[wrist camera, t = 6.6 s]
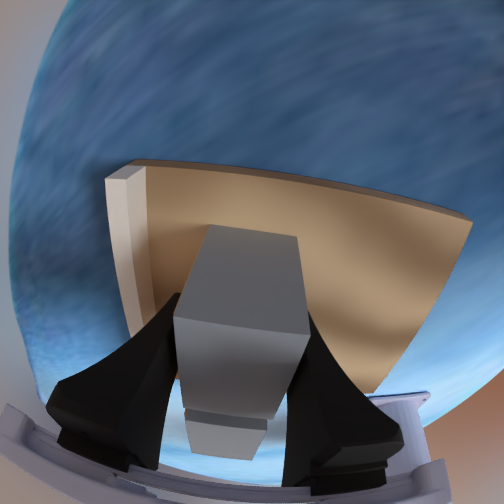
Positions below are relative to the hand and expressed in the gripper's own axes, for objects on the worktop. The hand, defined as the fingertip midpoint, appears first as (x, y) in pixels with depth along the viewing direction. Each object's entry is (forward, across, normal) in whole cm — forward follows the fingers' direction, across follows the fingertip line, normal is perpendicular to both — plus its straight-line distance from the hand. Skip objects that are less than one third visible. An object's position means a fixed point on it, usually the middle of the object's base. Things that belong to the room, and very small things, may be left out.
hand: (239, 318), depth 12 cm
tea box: (+3, 0, 0) cm, 3 cm away
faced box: (+3, 0, +8) cm, 8 cm away
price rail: (+3, +6, +2) cm, 7 cm away
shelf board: (+4, -3, +2) cm, 6 cm away
